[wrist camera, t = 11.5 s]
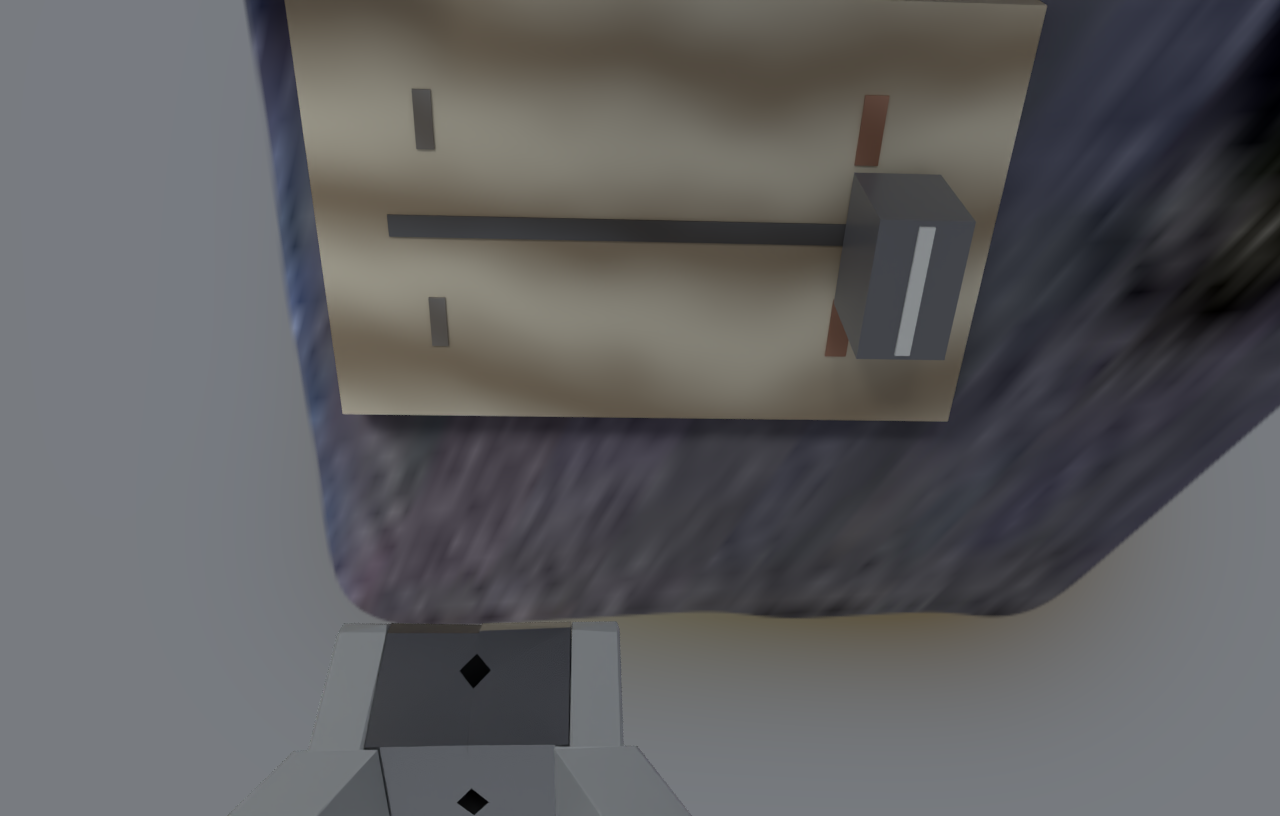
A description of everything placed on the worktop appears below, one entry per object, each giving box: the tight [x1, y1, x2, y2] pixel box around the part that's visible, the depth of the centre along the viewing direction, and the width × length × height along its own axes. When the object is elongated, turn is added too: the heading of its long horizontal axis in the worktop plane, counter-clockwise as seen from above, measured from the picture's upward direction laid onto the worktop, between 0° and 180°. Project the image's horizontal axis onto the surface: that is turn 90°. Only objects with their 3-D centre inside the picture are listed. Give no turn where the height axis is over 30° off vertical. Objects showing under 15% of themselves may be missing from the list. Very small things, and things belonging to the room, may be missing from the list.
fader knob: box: [834, 173, 976, 360], centre depth 36 cm, size 5×3×4 cm, turn 178°
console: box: [285, 0, 1047, 421], centre depth 38 cm, size 16×24×2 cm, turn 88°
